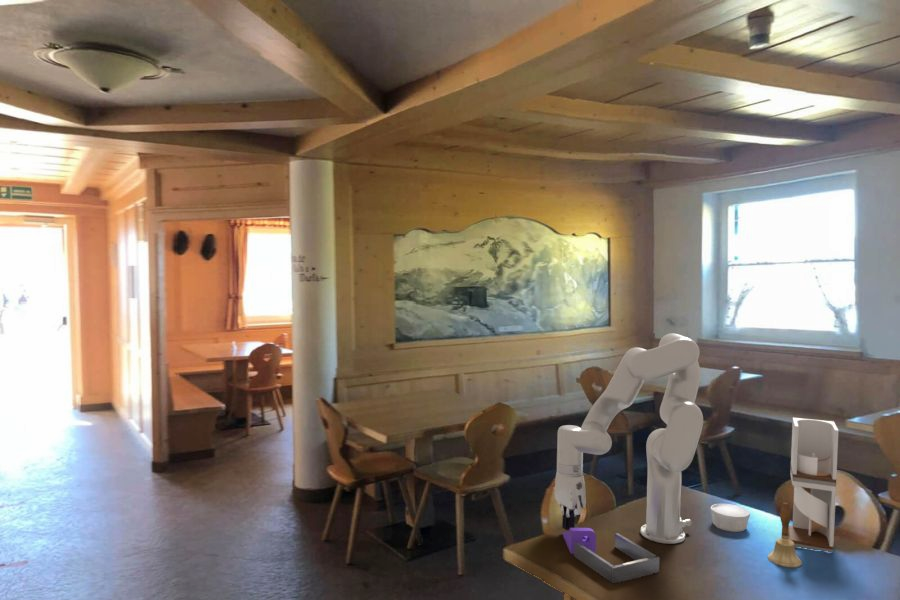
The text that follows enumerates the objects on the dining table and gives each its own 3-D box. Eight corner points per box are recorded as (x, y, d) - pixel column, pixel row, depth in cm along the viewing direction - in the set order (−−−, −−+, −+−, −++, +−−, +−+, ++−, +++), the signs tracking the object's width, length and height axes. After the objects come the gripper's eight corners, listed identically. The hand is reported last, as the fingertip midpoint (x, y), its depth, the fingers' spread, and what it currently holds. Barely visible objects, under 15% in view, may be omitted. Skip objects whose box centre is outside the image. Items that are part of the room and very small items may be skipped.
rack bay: (617, 546, 183) (618, 532, 183) (658, 572, 168) (659, 557, 168) (574, 556, 177) (574, 541, 177) (612, 583, 162) (613, 567, 162)
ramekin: (714, 516, 207) (715, 500, 206) (752, 525, 200) (753, 508, 200) (705, 527, 197) (706, 511, 197) (745, 537, 191) (745, 519, 191)
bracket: (595, 555, 179) (596, 530, 178) (570, 555, 179) (571, 530, 178) (586, 536, 191) (586, 514, 190) (562, 536, 191) (563, 513, 190)
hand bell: (769, 564, 173) (771, 506, 173) (766, 551, 181) (768, 496, 180) (803, 570, 170) (806, 511, 169) (799, 556, 178) (802, 500, 177)
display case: (788, 531, 195) (792, 417, 193) (828, 538, 190) (833, 421, 188) (790, 546, 184) (794, 426, 183) (833, 554, 180) (838, 430, 178)
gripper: (595, 473, 186) (594, 536, 187) (565, 459, 199) (564, 517, 200) (574, 477, 183) (572, 540, 184) (545, 462, 196) (543, 521, 197)
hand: (568, 528), depth 192 cm, fingers closed
